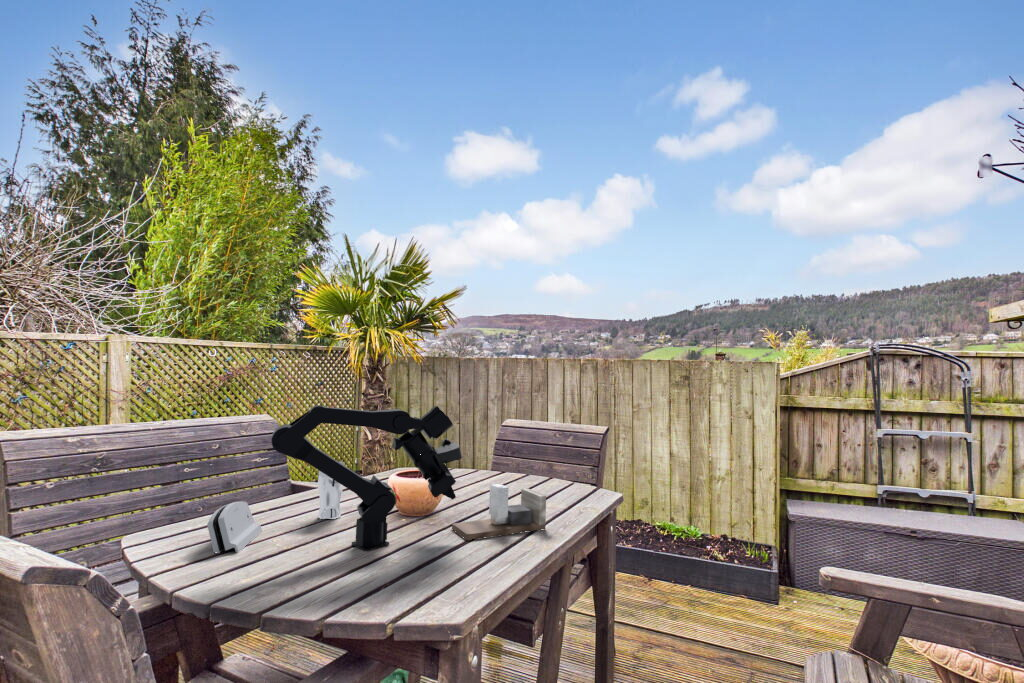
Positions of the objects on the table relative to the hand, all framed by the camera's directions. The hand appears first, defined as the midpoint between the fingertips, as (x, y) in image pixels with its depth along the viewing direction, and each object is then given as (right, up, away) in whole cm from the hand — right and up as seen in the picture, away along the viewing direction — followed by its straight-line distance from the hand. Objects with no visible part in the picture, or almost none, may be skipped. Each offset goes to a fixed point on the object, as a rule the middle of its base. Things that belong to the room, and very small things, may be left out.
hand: (454, 497), depth 131 cm
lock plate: (+11, -10, +5) cm, 16 cm away
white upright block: (-36, -9, +12) cm, 39 cm away
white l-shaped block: (+14, -8, +7) cm, 18 cm away
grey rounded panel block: (-51, -7, -11) cm, 53 cm away
